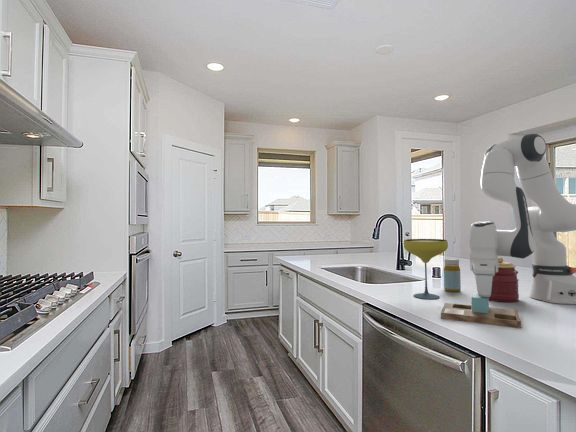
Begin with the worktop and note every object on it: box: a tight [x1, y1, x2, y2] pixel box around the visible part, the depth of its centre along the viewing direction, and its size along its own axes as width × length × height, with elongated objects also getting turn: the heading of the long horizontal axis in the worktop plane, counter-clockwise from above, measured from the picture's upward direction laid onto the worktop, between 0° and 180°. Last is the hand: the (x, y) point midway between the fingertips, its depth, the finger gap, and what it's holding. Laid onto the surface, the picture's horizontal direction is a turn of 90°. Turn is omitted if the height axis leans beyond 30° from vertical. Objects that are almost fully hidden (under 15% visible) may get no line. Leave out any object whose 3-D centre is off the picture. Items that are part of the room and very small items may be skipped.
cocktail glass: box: [403, 238, 449, 301], centre depth 148 cm, size 18×18×25 cm
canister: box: [489, 256, 520, 303], centre depth 142 cm, size 13×13×18 cm
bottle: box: [443, 257, 462, 293], centre depth 159 cm, size 7×7×15 cm
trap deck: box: [440, 302, 522, 329], centre depth 117 cm, size 23×15×2 cm, turn 60°
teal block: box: [471, 293, 490, 313], centre depth 117 cm, size 5×5×5 cm
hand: (484, 304), depth 121 cm, fingers closed
